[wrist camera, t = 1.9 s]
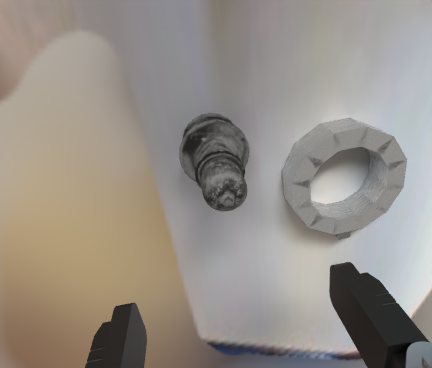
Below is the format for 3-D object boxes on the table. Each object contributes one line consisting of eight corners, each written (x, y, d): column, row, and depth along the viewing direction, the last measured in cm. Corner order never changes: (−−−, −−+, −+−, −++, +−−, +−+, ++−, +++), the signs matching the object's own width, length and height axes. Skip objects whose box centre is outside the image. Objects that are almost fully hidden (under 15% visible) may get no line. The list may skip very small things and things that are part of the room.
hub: (278, 132, 29) (288, 142, 26) (390, 109, 29) (412, 117, 26) (287, 235, 34) (296, 252, 32) (380, 215, 34) (397, 230, 32)
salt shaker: (241, 167, 30) (276, 241, 19) (182, 172, 29) (183, 250, 19) (241, 107, 27) (281, 155, 17) (176, 112, 27) (173, 163, 16)
